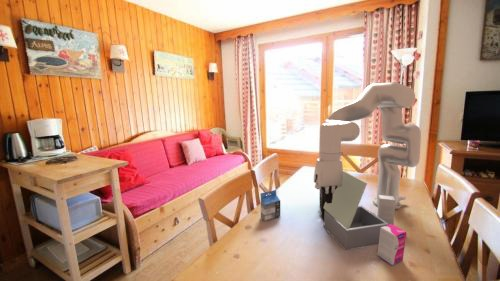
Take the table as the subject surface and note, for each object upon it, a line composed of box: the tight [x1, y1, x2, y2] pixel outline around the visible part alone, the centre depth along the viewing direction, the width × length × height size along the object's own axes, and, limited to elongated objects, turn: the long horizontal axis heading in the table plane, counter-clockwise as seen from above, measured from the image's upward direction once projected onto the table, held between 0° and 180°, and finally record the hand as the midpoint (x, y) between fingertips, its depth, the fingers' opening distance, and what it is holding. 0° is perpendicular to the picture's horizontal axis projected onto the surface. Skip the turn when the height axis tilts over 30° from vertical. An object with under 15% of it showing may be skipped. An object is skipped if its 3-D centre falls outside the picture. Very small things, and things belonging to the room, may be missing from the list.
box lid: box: [323, 170, 368, 229], centre depth 94 cm, size 18×17×1 cm
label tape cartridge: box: [260, 189, 281, 222], centre depth 112 cm, size 9×4×12 cm, turn 117°
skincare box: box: [376, 195, 396, 225], centre depth 106 cm, size 6×4×12 cm
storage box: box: [323, 205, 389, 251], centre depth 97 cm, size 18×16×8 cm
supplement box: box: [377, 224, 407, 267], centre depth 82 cm, size 6×6×12 cm
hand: (327, 201), depth 93 cm, fingers closed
